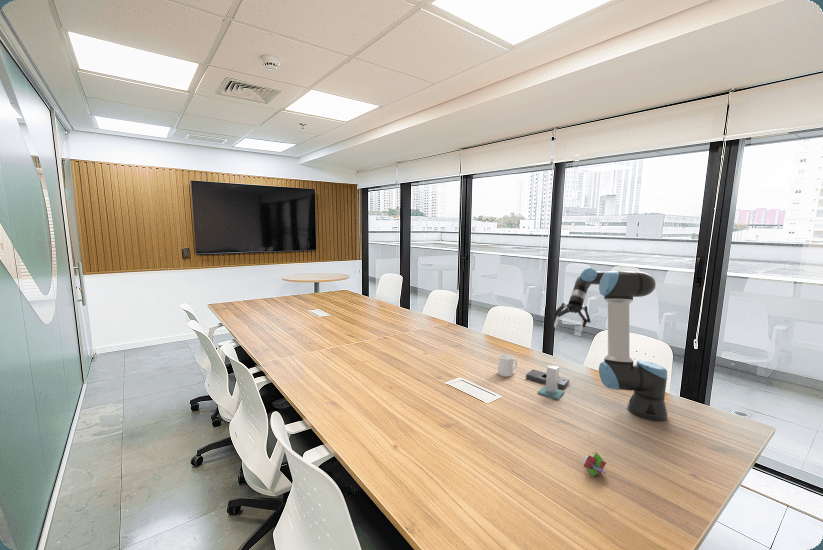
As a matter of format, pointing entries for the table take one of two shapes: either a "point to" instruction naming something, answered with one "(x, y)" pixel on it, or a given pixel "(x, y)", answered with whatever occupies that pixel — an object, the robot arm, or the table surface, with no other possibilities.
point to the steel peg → (552, 379)
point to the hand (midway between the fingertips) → (567, 328)
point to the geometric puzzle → (594, 464)
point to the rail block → (541, 378)
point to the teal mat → (554, 396)
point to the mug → (506, 365)
